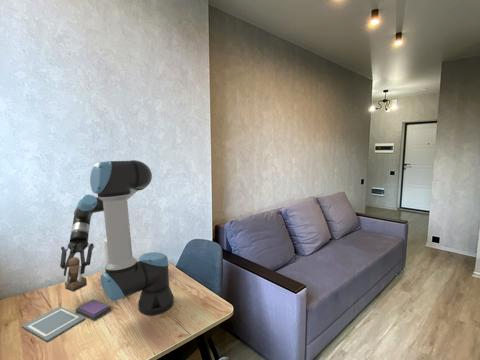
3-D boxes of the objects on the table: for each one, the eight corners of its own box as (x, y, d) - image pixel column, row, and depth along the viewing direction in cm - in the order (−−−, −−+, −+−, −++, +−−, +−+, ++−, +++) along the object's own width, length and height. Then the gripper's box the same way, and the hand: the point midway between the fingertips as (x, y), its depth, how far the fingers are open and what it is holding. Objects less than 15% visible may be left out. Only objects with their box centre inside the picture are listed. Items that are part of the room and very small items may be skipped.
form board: (85, 319, 106) (85, 317, 106) (47, 342, 94) (47, 340, 94) (59, 307, 114) (59, 306, 114) (21, 327, 102) (21, 325, 102)
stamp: (86, 285, 118) (84, 256, 116) (73, 291, 113) (70, 261, 111) (79, 282, 121) (76, 254, 119) (65, 288, 115) (62, 259, 114)
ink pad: (111, 309, 112) (110, 305, 112) (93, 320, 105) (93, 316, 105) (93, 302, 118) (93, 298, 118) (75, 312, 111) (75, 308, 110)
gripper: (100, 235, 132) (96, 281, 118) (62, 239, 127) (52, 288, 113) (97, 228, 126) (92, 275, 112) (57, 232, 121) (46, 282, 107)
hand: (72, 281), depth 113 cm, fingers closed on stamp, 4 cm apart
